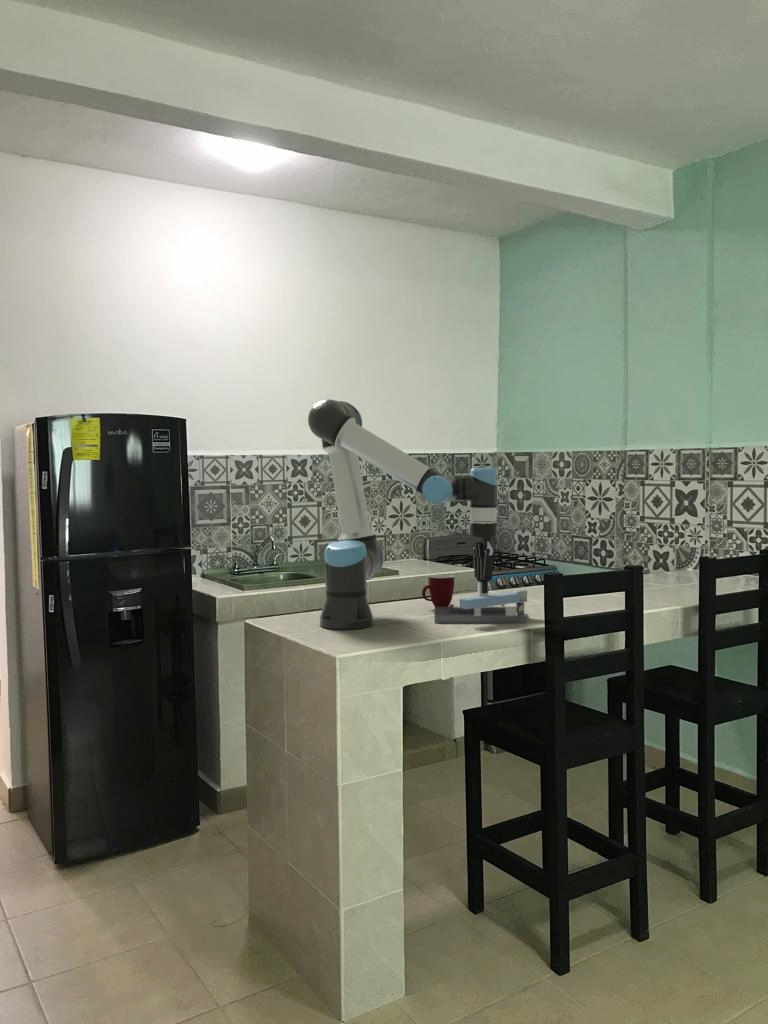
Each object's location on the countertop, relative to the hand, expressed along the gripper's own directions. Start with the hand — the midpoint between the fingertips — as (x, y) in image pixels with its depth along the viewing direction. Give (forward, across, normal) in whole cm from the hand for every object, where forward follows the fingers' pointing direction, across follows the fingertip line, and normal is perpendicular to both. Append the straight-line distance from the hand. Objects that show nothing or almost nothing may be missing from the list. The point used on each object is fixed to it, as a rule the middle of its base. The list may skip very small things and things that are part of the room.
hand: (482, 603), depth 241 cm
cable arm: (0, -2, -3) cm, 4 cm away
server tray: (+5, +5, -1) cm, 7 cm away
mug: (+6, +24, +6) cm, 25 cm away
